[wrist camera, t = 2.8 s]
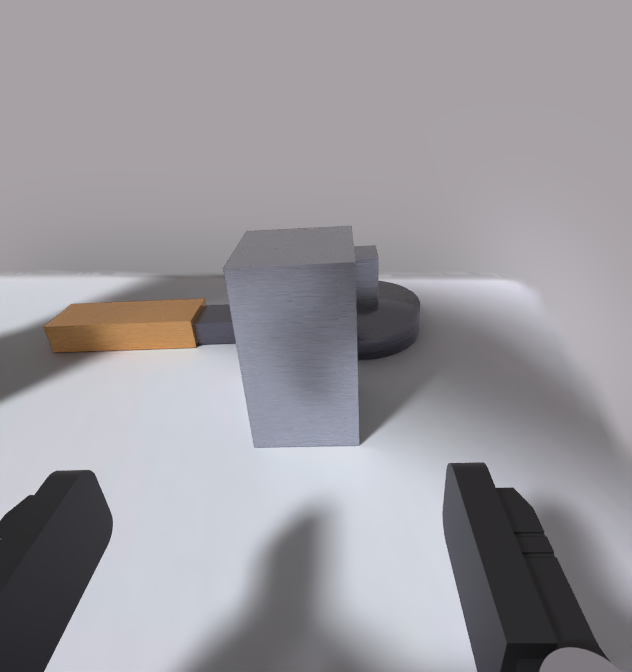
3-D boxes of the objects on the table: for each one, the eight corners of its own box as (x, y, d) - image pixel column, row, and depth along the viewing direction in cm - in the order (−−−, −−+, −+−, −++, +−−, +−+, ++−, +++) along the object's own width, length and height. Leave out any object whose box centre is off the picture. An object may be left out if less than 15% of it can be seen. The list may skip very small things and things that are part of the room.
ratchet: (35, 370, 29) (0, 291, 26) (93, 315, 36) (71, 248, 33) (428, 357, 27) (433, 272, 25) (409, 302, 34) (412, 231, 32)
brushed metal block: (254, 447, 21) (223, 268, 17) (267, 386, 26) (246, 231, 21) (359, 445, 21) (355, 262, 17) (355, 383, 25) (351, 225, 21)
